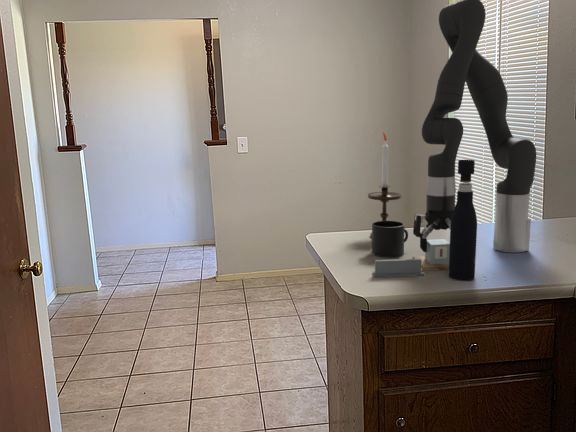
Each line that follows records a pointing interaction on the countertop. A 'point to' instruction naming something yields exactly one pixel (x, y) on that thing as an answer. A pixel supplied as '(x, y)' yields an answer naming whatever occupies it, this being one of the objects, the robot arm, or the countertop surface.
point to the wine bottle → (463, 228)
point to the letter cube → (437, 251)
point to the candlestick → (384, 185)
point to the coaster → (427, 266)
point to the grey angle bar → (398, 268)
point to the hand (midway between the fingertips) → (439, 250)
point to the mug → (388, 238)
